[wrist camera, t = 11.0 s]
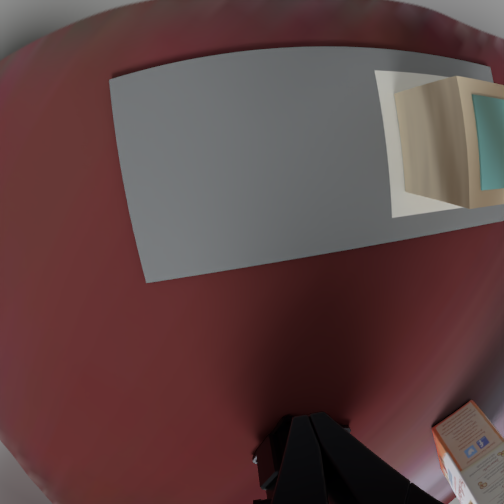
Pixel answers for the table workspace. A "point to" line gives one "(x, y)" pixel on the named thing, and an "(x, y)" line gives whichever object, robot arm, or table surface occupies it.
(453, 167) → the birch cube
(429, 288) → the table surface
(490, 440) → the cracker box
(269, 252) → the mat
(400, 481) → the robot arm
